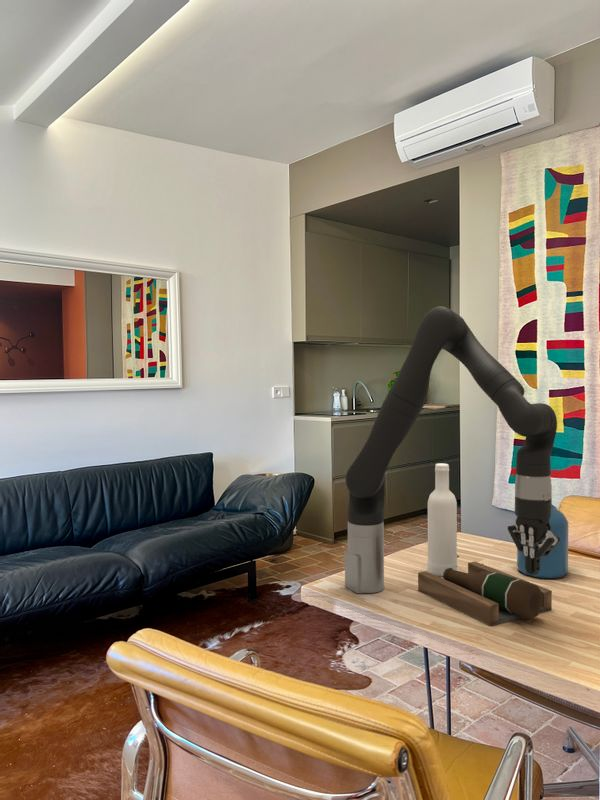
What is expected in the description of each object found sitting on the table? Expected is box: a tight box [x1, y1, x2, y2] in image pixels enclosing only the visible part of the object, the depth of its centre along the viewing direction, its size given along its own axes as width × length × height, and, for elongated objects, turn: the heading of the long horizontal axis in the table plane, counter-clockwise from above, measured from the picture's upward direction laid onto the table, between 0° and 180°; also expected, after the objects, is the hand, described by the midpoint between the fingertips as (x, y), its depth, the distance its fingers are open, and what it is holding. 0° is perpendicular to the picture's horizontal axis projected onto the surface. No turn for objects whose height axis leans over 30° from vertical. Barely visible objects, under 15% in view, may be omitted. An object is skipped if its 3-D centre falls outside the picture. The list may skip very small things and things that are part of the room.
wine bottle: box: [516, 504, 569, 579], centre depth 168 cm, size 14×13×30 cm
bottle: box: [427, 462, 458, 577], centre depth 168 cm, size 8×8×30 cm
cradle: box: [417, 561, 553, 627], centre depth 148 cm, size 19×25×4 cm
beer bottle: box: [442, 568, 543, 620], centre depth 144 cm, size 8×8×24 cm
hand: (532, 573), depth 134 cm, fingers closed
